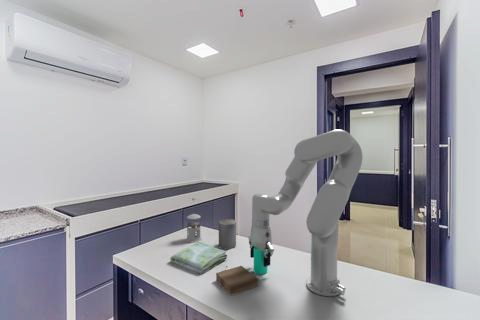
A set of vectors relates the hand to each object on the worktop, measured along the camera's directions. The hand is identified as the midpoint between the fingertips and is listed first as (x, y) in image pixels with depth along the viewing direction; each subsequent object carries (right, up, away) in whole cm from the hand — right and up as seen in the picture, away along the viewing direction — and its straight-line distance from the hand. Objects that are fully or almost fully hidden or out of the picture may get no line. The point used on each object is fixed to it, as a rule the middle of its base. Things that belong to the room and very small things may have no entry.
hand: (260, 261), depth 104 cm
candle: (0, -4, 0) cm, 4 cm away
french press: (-36, -3, +38) cm, 52 cm away
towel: (-28, -4, +9) cm, 30 cm away
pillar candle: (-16, -4, +28) cm, 32 cm away
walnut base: (-10, -4, -10) cm, 15 cm away
